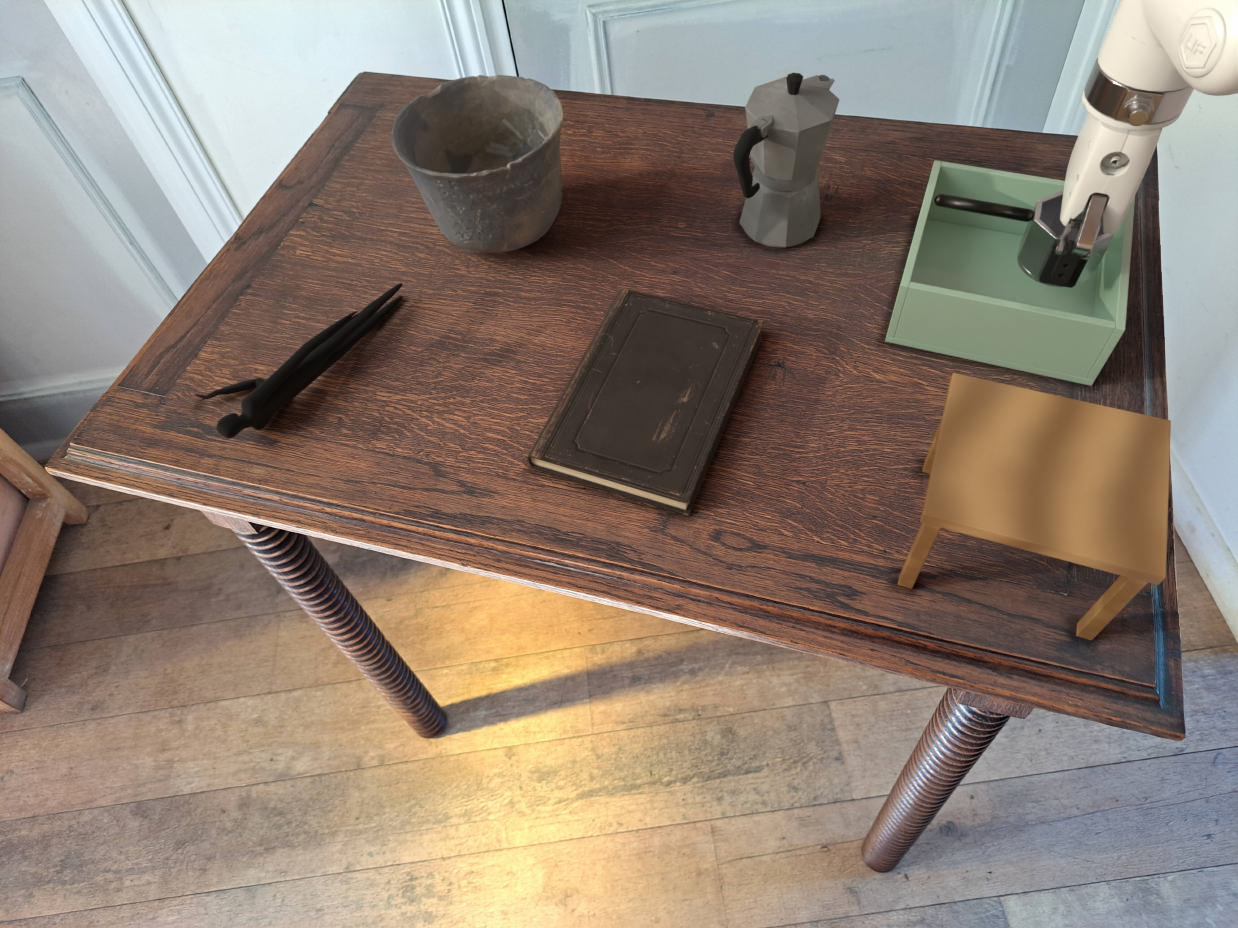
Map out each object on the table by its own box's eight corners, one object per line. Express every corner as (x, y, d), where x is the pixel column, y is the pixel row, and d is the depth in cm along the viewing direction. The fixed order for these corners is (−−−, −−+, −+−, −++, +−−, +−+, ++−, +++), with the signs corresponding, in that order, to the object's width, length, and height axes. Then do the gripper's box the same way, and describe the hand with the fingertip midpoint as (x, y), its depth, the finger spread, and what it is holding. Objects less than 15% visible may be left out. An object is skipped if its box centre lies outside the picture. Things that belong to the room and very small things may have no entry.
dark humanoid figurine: (349, 229, 92) (155, 370, 80) (410, 275, 91) (223, 426, 79) (353, 277, 99) (175, 414, 87) (410, 321, 98) (239, 465, 86)
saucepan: (1095, 245, 85) (1118, 199, 80) (1089, 294, 81) (1113, 248, 77) (929, 215, 89) (942, 170, 84) (917, 260, 85) (930, 215, 81)
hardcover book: (762, 336, 88) (764, 320, 87) (688, 516, 77) (688, 502, 75) (619, 302, 93) (618, 286, 91) (529, 467, 81) (525, 453, 79)
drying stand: (1107, 503, 75) (1171, 420, 65) (1096, 646, 67) (1166, 577, 58) (920, 457, 79) (953, 372, 69) (891, 587, 72) (923, 513, 62)
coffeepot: (781, 177, 103) (796, 30, 88) (847, 209, 99) (875, 60, 84) (698, 245, 97) (699, 100, 82) (764, 282, 93) (778, 137, 78)
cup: (537, 303, 94) (513, 190, 81) (399, 269, 98) (357, 158, 86) (599, 201, 102) (586, 85, 90) (470, 175, 107) (441, 61, 95)
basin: (1104, 251, 92) (1135, 191, 85) (1091, 386, 82) (1125, 329, 75) (918, 218, 97) (934, 160, 90) (884, 341, 87) (900, 285, 80)
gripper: (1188, 160, 63) (1094, 327, 78) (1191, 35, 72) (1106, 206, 87) (1079, 144, 65) (1008, 310, 80) (1095, 24, 74) (1028, 193, 88)
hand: (1060, 254), depth 83 cm, fingers closed on saucepan, 7 cm apart
